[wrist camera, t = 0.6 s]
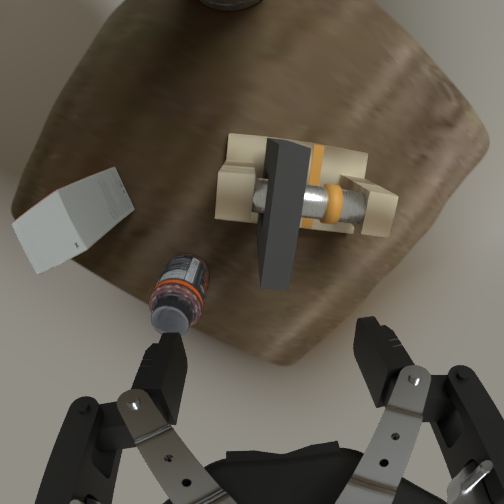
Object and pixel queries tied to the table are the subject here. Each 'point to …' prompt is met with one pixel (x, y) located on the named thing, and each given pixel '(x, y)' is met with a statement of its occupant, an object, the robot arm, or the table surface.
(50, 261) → the small box
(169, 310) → the supplement bottle
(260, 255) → the dark grey flat block
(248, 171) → the pipe stand
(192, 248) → the table surface
